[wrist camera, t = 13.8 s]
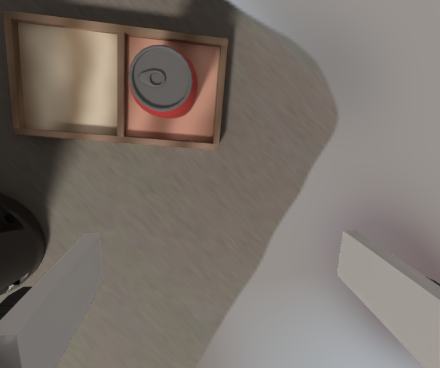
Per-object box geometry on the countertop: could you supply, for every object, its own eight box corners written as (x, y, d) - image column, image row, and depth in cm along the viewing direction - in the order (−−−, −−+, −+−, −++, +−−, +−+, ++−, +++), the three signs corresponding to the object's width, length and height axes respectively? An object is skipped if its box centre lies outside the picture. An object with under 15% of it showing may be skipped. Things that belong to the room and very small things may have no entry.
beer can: (146, 63, 34) (122, 33, 22) (198, 68, 35) (200, 42, 23) (145, 116, 35) (122, 114, 24) (195, 120, 36) (196, 120, 24)
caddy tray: (26, 133, 36) (13, 134, 33) (17, 18, 33) (2, 9, 30) (216, 148, 39) (218, 150, 36) (225, 44, 36) (228, 38, 33)
